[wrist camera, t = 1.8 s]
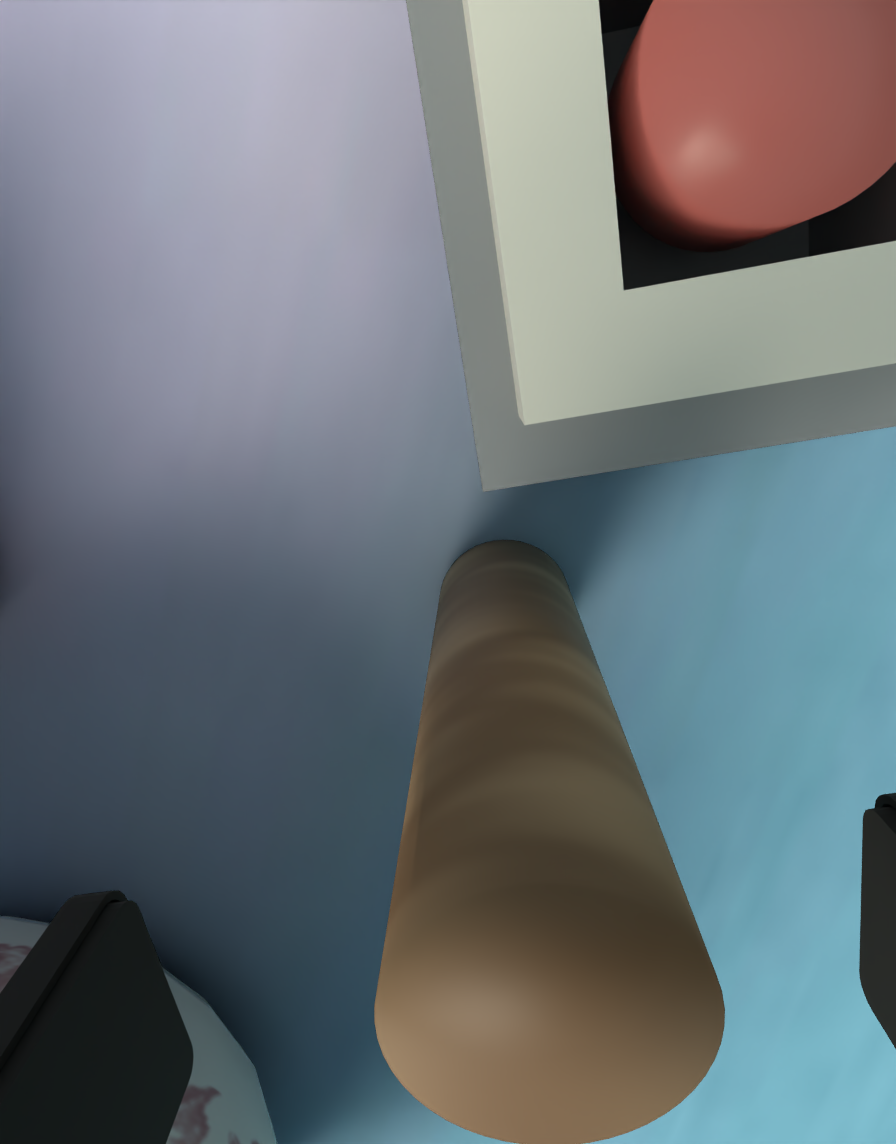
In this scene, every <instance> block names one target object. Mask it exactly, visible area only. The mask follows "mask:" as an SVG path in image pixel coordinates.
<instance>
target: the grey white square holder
mask: <svg viewBox="0 0 896 1144" xmlns="http://www.w3.org/2000/svg"><path fill="white" fill-rule="evenodd" d="M652 1H653V0H406V3H407V10H408V16H409V23H410V29H411V35H412V42H413V48H414V54H415V61H416V67H417V74H418V80H419V86H420V93H421V99H422V106H423V112H424V118H425V125H426V131H427V138H428V144H429V150H430V157H431V163H432V170H433V176H434V182H435V189H436V195H437V202H438V208H439V214H440V221H441V227H442V234H443V240H444V246H445V253H446V259H447V266H448V272H449V278H450V285H451V291H452V298H453V304H454V310H455V317H456V323H457V330H458V336H459V342H460V349H461V355H462V362H463V368H464V374H465V381H466V387H467V394H468V400H469V406H470V413H471V419H472V426H473V432H474V438H475V445H476V451H477V458H478V464H479V470H480V477H481V483H482V490H483V492H485V491H492V490H498V489H504V488H511V487H517V486H523V485H529V484H536V483H542V482H548V481H555V480H561V479H567V478H573V477H580V476H586V475H592V474H599V473H605V472H611V471H617V470H624V469H630V468H636V467H643V466H649V465H655V464H661V463H668V462H674V461H680V460H687V459H693V458H699V457H705V456H712V455H718V454H724V453H731V452H737V451H743V450H750V449H756V448H762V447H768V446H775V445H781V444H787V443H794V442H800V441H806V440H812V439H819V438H825V437H831V436H838V435H844V434H850V433H856V432H863V431H869V430H875V429H882V428H888V427H894V426H896V162H895V163H894V164H893V165H892V166H891V167H890V169H889V170H888V171H887V172H886V173H885V174H884V175H882V176H881V177H880V178H879V179H878V180H877V181H876V182H875V183H873V184H872V185H871V186H870V187H869V188H867V189H866V190H864V191H863V192H862V193H860V194H859V195H857V196H856V197H855V198H853V199H852V200H850V201H848V202H846V203H844V204H842V205H841V206H839V207H837V208H835V209H833V210H831V211H828V212H826V213H823V214H821V215H818V216H816V217H813V218H811V219H808V220H806V221H803V222H801V223H798V224H796V225H793V226H791V227H788V228H786V229H783V230H781V231H778V232H776V233H773V234H771V235H769V236H766V237H764V238H761V239H759V240H756V241H754V242H751V243H749V244H746V245H744V246H741V247H738V248H734V249H730V250H726V251H718V252H694V251H688V250H682V249H679V248H676V247H673V246H670V245H668V244H666V243H664V242H662V241H660V240H658V239H656V238H654V237H653V236H651V235H650V234H649V233H647V232H646V231H644V230H643V229H642V228H641V227H640V226H639V225H638V224H637V223H636V222H635V221H634V220H633V219H632V218H631V216H630V215H629V214H628V213H627V211H626V210H625V209H624V207H623V205H622V204H621V202H620V200H619V199H618V197H617V195H616V192H615V184H614V172H613V161H612V149H611V138H610V126H609V114H608V98H609V95H610V92H611V89H612V85H613V82H614V80H615V77H616V75H617V73H618V71H619V68H620V66H621V64H622V62H623V60H624V58H625V56H626V54H627V52H628V50H629V48H630V46H631V44H632V42H633V40H634V38H635V36H636V34H637V32H638V30H639V28H640V26H641V24H642V22H643V20H644V18H645V16H646V14H647V12H648V10H649V7H650V5H651V3H652Z"/></svg>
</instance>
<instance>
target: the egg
mask: <svg viewBox="0 0 896 1144" xmlns="http://www.w3.org/2000/svg"><path fill="white" fill-rule="evenodd" d="M608 114H609V126H610V138H611V149H612V161H613V172H614V184H615V192H616V195H617V197H618V199H619V200H620V202H621V204H622V205H623V207H624V209H625V210H626V211H627V213H628V214H629V215H630V216H631V218H632V219H633V220H634V221H635V222H636V223H637V224H638V225H639V226H640V227H641V228H642V229H643V230H644V231H646V232H647V233H649V234H650V235H651V236H653V237H654V238H656V239H658V240H660V241H662V242H664V243H666V244H668V245H670V246H673V247H676V248H679V249H682V250H688V251H694V252H718V251H726V250H730V249H734V248H738V247H741V246H744V245H746V244H749V243H751V242H754V241H756V240H759V239H761V238H764V237H766V236H769V235H771V234H773V233H776V232H778V231H781V230H783V229H786V228H788V227H791V226H793V225H796V224H798V223H801V222H803V221H806V220H808V219H811V218H813V217H816V216H818V215H821V214H823V213H826V212H828V211H831V210H833V209H835V208H837V207H839V206H841V205H842V204H844V203H846V202H848V201H850V200H852V199H853V198H855V197H856V196H857V195H859V194H860V193H862V192H863V191H864V190H866V189H867V188H869V187H870V186H871V185H872V184H873V183H875V182H876V181H877V180H878V179H879V178H880V177H881V176H882V175H884V174H885V173H886V172H887V171H888V170H889V169H890V167H891V166H892V165H893V164H894V163H895V162H896V0H653V1H652V3H651V5H650V7H649V10H648V12H647V14H646V16H645V18H644V20H643V22H642V24H641V26H640V28H639V30H638V32H637V34H636V36H635V38H634V40H633V42H632V44H631V46H630V48H629V50H628V52H627V54H626V56H625V58H624V60H623V62H622V64H621V66H620V68H619V71H618V73H617V75H616V77H615V80H614V82H613V85H612V89H611V92H610V95H609V98H608Z"/></svg>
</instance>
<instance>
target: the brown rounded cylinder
mask: <svg viewBox="0 0 896 1144" xmlns="http://www.w3.org/2000/svg"><path fill="white" fill-rule="evenodd" d="M374 1016H375V1028H376V1033H377V1039H378V1042H379V1045H380V1048H381V1050H382V1053H383V1056H384V1058H385V1059H386V1061H387V1063H388V1065H389V1067H390V1069H391V1071H392V1072H393V1073H394V1075H395V1076H396V1077H397V1079H398V1080H399V1081H400V1083H401V1084H402V1085H403V1086H404V1087H405V1088H406V1089H407V1090H408V1091H409V1092H410V1093H411V1094H412V1095H413V1096H414V1097H415V1098H416V1099H417V1100H418V1101H419V1102H421V1103H422V1104H423V1105H424V1106H426V1107H427V1108H428V1109H429V1110H431V1111H433V1112H434V1113H436V1114H437V1115H439V1116H441V1117H442V1118H444V1119H445V1120H447V1121H449V1122H451V1123H453V1124H455V1125H457V1126H460V1127H462V1128H464V1129H466V1130H469V1131H472V1132H474V1133H477V1134H480V1135H483V1136H486V1137H490V1138H494V1139H498V1140H502V1141H507V1142H513V1143H519V1144H583V1143H590V1142H595V1141H599V1140H604V1139H609V1138H612V1137H615V1136H618V1135H621V1134H625V1133H628V1132H630V1131H633V1130H635V1129H637V1128H640V1127H642V1126H644V1125H647V1124H648V1123H650V1122H652V1121H654V1120H656V1119H657V1118H659V1117H661V1116H663V1115H664V1114H666V1113H667V1112H669V1111H670V1110H671V1109H673V1108H674V1107H675V1106H677V1105H678V1104H679V1103H681V1102H682V1101H683V1100H684V1099H685V1098H686V1097H687V1096H688V1095H689V1094H690V1093H691V1092H692V1091H693V1090H694V1089H695V1088H696V1087H697V1086H698V1084H699V1083H700V1082H701V1081H702V1079H703V1078H704V1077H705V1076H706V1074H707V1072H708V1070H709V1069H710V1067H711V1065H712V1064H713V1062H714V1060H715V1058H716V1055H717V1052H718V1050H719V1047H720V1045H721V1041H722V1036H723V1031H724V1019H725V1008H724V1001H723V995H722V990H721V987H720V984H719V981H718V978H717V975H716V973H715V970H714V967H713V965H712V962H711V960H710V957H709V954H708V952H707V949H706V947H705V944H704V941H703V939H702V936H701V933H700V931H699V928H698V926H697V923H696V920H695V918H694V915H693V912H692V910H691V907H690V905H689V902H688V899H687V897H686V894H685V892H684V889H683V886H682V884H681V881H680V878H679V876H678V873H677V871H676V868H675V865H674V863H673V860H672V857H671V855H670V852H669V850H668V847H667V844H666V842H665V839H664V836H663V834H662V831H661V829H660V826H659V823H658V821H657V818H656V816H655V813H654V810H653V808H652V805H651V802H650V800H649V797H648V795H647V792H646V789H645V787H644V784H643V781H642V779H641V776H640V774H639V771H638V768H637V766H636V763H635V761H634V758H633V755H632V753H631V750H630V747H629V745H628V742H627V740H626V737H625V734H624V732H623V729H622V726H621V724H620V721H619V719H618V716H617V713H616V711H615V708H614V706H613V703H612V700H611V698H610V695H609V692H608V690H607V687H606V685H605V682H604V679H603V677H602V674H601V671H600V669H599V666H598V664H597V661H596V658H595V656H594V653H593V650H592V648H591V645H590V643H589V640H588V637H587V635H586V632H585V630H584V627H583V624H582V622H581V619H580V616H579V614H578V611H577V609H576V606H575V603H574V601H573V598H572V595H571V593H570V590H569V588H568V585H567V582H566V580H565V577H564V575H563V573H562V571H561V570H560V568H559V567H558V565H557V564H556V563H555V562H554V561H553V559H552V558H551V557H549V556H548V555H547V554H546V553H545V552H543V551H542V550H540V549H538V548H537V547H534V546H532V545H530V544H527V543H524V542H521V541H515V540H495V541H490V542H486V543H483V544H480V545H477V546H475V547H474V548H472V549H470V550H468V551H467V552H465V553H464V554H463V555H461V556H460V557H459V558H458V559H457V560H456V561H455V562H454V564H453V565H452V566H451V567H450V569H449V570H448V572H447V574H446V576H445V578H444V580H443V584H442V587H441V592H440V598H439V604H438V611H437V617H436V623H435V629H434V636H433V642H432V648H431V654H430V661H429V667H428V673H427V679H426V686H425V692H424V698H423V704H422V711H421V717H420V723H419V730H418V736H417V742H416V748H415V755H414V761H413V767H412V773H411V780H410V786H409V792H408V798H407V805H406V811H405V817H404V824H403V830H402V836H401V842H400V849H399V855H398V861H397V867H396V874H395V880H394V886H393V892H392V899H391V905H390V911H389V917H388V924H387V930H386V936H385V943H384V949H383V955H382V961H381V968H380V974H379V980H378V986H377V993H376V999H375V1005H374Z"/></svg>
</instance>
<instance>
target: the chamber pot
mask: <svg viewBox="0 0 896 1144" xmlns="http://www.w3.org/2000/svg"><path fill="white" fill-rule="evenodd" d="M49 924H50V923H46V922H40V921H35V920H29V919H23V918H17V917H11V916H0V993H1V991H2V990H3V989H4V987H5V986H6V984H7V983H8V982H9V980H10V979H11V977H12V976H13V975H14V973H15V972H16V970H17V969H18V968H19V966H20V965H21V963H22V962H23V961H24V959H25V958H26V956H27V955H28V954H29V952H30V951H31V949H32V948H33V947H34V945H35V944H36V942H37V941H38V940H39V938H40V937H41V935H42V934H43V932H44V931H45V930H46V928H47V927H48V925H49ZM162 969H163V971H164V974H165V976H166V979H167V981H168V984H169V986H170V989H171V992H172V994H173V997H174V999H175V1002H176V1004H177V1007H178V1009H179V1012H180V1015H181V1017H182V1020H183V1022H184V1025H185V1027H186V1030H187V1032H188V1035H189V1037H190V1040H191V1043H192V1046H193V1055H194V1058H193V1068H192V1074H191V1077H190V1080H189V1083H188V1086H187V1088H186V1091H185V1094H184V1096H183V1099H182V1102H181V1105H180V1107H179V1110H178V1113H177V1115H176V1118H175V1121H174V1123H173V1126H172V1129H171V1131H170V1134H169V1137H168V1140H167V1142H166V1144H278V1143H277V1139H276V1136H275V1132H274V1128H273V1124H272V1121H271V1118H270V1115H269V1111H268V1108H267V1105H266V1102H265V1098H264V1095H263V1092H262V1089H261V1085H260V1082H259V1079H258V1076H257V1072H256V1069H255V1066H254V1065H253V1063H252V1062H251V1060H250V1059H249V1057H248V1056H247V1054H246V1053H245V1051H244V1050H243V1048H242V1047H241V1046H240V1044H239V1043H238V1042H237V1040H236V1039H235V1038H234V1036H233V1035H232V1034H231V1032H230V1031H229V1030H228V1028H227V1027H226V1026H225V1025H224V1023H223V1022H222V1021H221V1019H220V1018H219V1017H218V1015H217V1014H216V1013H215V1011H214V1010H213V1009H212V1007H211V1006H210V1005H209V1003H208V1002H207V1001H206V1000H205V999H204V998H203V997H201V996H200V995H199V994H197V993H196V992H195V991H193V990H192V989H191V988H189V987H188V986H187V985H186V984H184V983H183V982H182V981H180V980H179V979H178V978H176V977H175V976H174V975H172V974H171V973H170V972H168V971H167V970H166V969H164V968H163V967H162Z"/></svg>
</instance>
